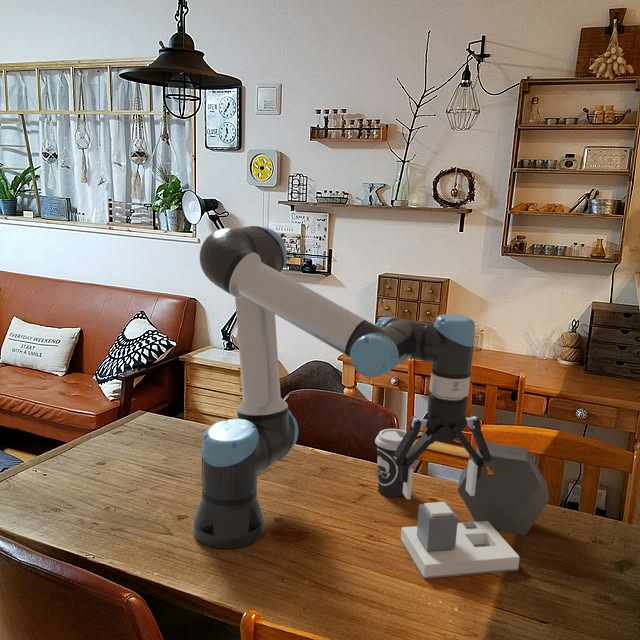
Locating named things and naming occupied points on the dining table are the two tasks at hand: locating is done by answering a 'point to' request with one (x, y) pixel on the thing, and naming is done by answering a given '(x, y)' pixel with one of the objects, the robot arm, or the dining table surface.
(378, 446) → the coffee cup
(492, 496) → the grey hexagonal prism
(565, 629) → the dining table surface
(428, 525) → the plug
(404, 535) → the socket plate
